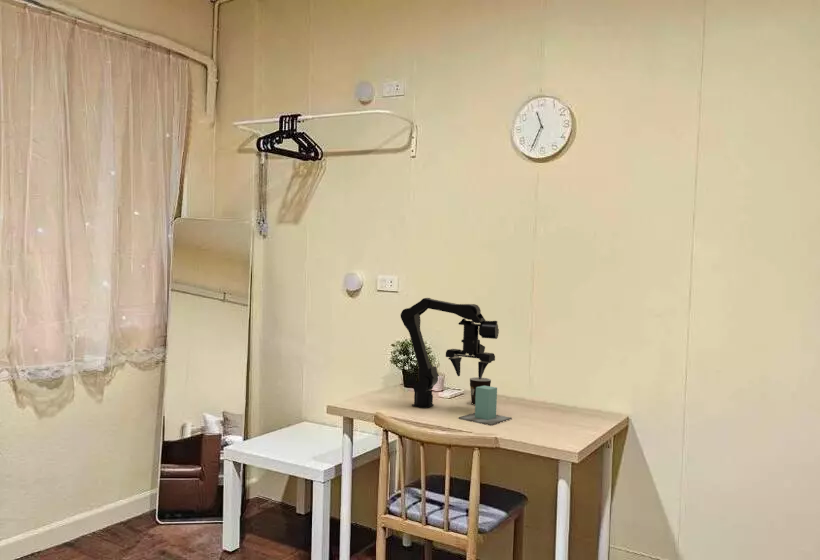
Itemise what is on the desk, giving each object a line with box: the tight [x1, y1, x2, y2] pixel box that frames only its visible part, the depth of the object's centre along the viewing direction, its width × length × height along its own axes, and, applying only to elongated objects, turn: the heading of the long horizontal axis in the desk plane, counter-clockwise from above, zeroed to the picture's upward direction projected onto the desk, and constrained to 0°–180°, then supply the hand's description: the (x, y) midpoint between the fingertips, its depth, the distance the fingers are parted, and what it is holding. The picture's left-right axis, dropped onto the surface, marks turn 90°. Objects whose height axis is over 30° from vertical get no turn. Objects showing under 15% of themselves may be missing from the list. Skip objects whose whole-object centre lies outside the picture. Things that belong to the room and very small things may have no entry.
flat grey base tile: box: [458, 412, 513, 426], centre depth 245 cm, size 14×14×5 cm
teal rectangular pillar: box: [474, 385, 498, 420], centre depth 244 cm, size 6×6×11 cm
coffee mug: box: [469, 376, 492, 405], centre depth 273 cm, size 12×9×10 cm
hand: (469, 377), depth 256 cm, fingers open, 9 cm apart
